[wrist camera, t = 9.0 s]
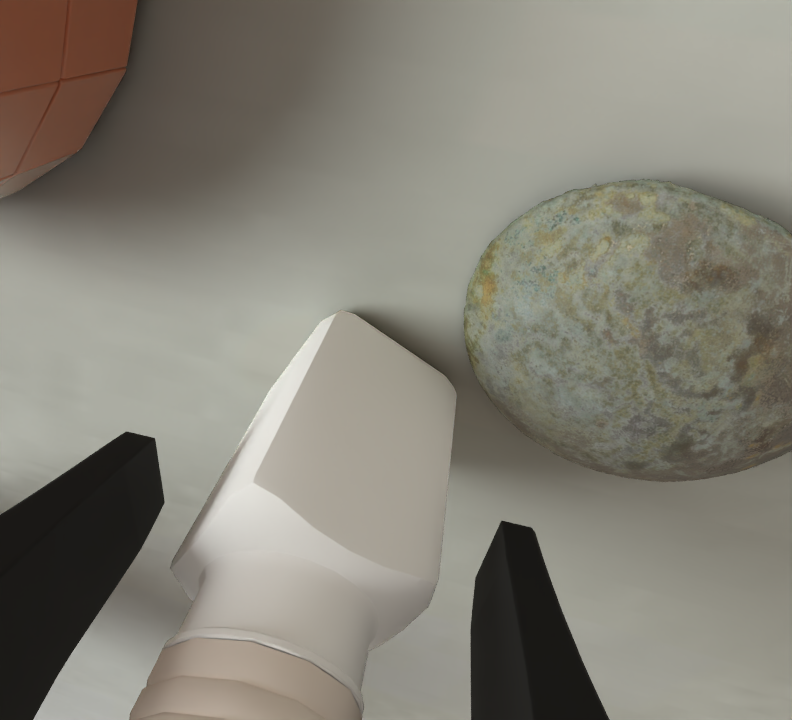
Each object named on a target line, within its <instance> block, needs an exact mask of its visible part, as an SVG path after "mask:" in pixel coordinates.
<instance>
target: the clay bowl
mask: <svg viewBox="0 0 792 720" xmlns="http://www.w3.org/2000/svg"><path fill="white" fill-rule="evenodd" d="M137 3H138V0H0V199H1V198H3V197H5V196H8V195H10V194H13V193H15V192H18V191H19V190H21V189H22V188H24V187H25V186H27V185H28V184H30V183H31V182H33V181H34V180H36V179H37V178H39V177H40V176H42V175H44V174H45V173H47V172H48V171H50V170H51V169H53V168H54V167H56V166H57V165H59V164H60V163H62V162H63V161H65V160H66V159H68V158H69V157H71V156H72V155H74V154H75V153H77V151H78V150H80V149H82V147H83V145H84V144H85V142H86V140H87V138H88V137H89V135H90V133H91V131H92V130H93V128H94V126H95V124H96V123H97V121H98V119H99V117H100V116H101V114H102V112H103V110H104V109H105V107H106V105H107V104H108V102H109V100H110V98H111V97H112V95H113V93H114V91H115V90H116V88H117V86H118V84H119V83H120V81H121V79H122V77H123V76H124V74H125V72H126V70H127V69H126V66H127V64H128V58H129V52H130V46H131V40H132V34H133V27H134V21H135V15H136V9H137Z"/></svg>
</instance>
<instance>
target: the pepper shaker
mask: <svg viewBox="0 0 792 720" xmlns="http://www.w3.org/2000/svg"><path fill="white" fill-rule="evenodd" d="M456 400H457V393H456V391H455V389H454V386H453V385H452V384H451V383H450V381H449V380H448V379H447V377H446V376H445V375H443V374H442V373H441V372H439V371H438V370H436V369H435V368H433V367H432V366H430V365H429V364H427V363H426V362H424V361H423V360H421V359H420V358H419V357H417V356H416V355H414V354H413V353H411V352H410V351H408V350H407V349H405V348H404V347H402V346H401V345H399V344H398V343H397V342H395V341H394V340H392V339H391V338H389V337H388V336H386V335H385V334H383V333H382V332H380V331H379V330H377V329H376V328H374V327H373V326H372V325H370V324H369V323H367V322H366V321H364V320H363V319H361V318H360V317H358V316H357V315H355V314H353V313H349V312H346V311H343V310H340V311H339V312H337V313H335V314H333V315H332V316H330V317H328V318H326V319H324V320H322V321H321V322H320V323H319V324H318V326H317V327H316V329H315V330H314V331H313V333H312V334H311V335H310V337H309V338H308V339H307V341H306V342H305V343H304V345H303V346H302V347H301V349H300V350H299V351H298V353H297V354H296V355H295V357H294V358H293V359H292V361H291V362H290V364H289V365H288V366H287V368H286V369H285V370H284V372H283V373H282V374H281V376H280V377H279V378H278V380H277V381H276V382H275V384H274V385H273V386H272V388H271V389H270V391H269V393H268V394H267V396H266V398H265V400H264V401H263V403H262V405H261V407H260V408H259V410H258V412H257V414H256V415H255V417H254V419H253V421H252V422H251V424H250V426H249V428H248V429H247V431H246V433H245V435H244V436H243V438H242V440H241V442H240V443H239V445H238V447H237V449H236V450H235V452H234V454H233V456H232V457H231V459H230V461H229V463H228V464H227V466H226V468H225V470H224V471H223V473H222V475H221V477H220V478H219V480H218V482H217V484H216V485H215V487H214V489H213V491H212V492H211V494H210V496H209V498H208V499H207V501H206V503H205V505H204V506H203V508H202V510H201V512H200V513H199V515H198V517H197V519H196V520H195V522H194V524H193V526H192V527H191V529H190V531H189V533H188V534H187V536H186V538H185V540H184V541H183V543H182V545H181V547H180V548H179V550H178V552H177V554H176V555H175V557H174V559H173V561H172V564H171V570H172V572H173V574H174V575H175V577H176V578H177V580H178V582H179V583H180V585H181V586H182V588H183V589H184V591H185V592H186V594H187V595H188V597H189V598H190V599H191V600H192V601H194V602H193V604H192V606H191V608H190V610H189V612H188V614H187V616H186V618H185V620H184V622H183V624H182V626H181V628H180V630H179V632H178V634H177V635H176V636H174V637H173V638H171V639H169V640H168V641H167V642H166V644H165V646H164V648H163V649H162V651H161V653H160V655H159V658H158V660H157V662H156V664H155V666H154V668H153V670H152V672H151V674H150V676H149V678H148V680H147V686H146V687H145V688H144V689H142V691H141V693H140V695H139V697H138V699H137V701H136V703H135V705H134V707H133V709H132V711H131V713H130V719H129V720H362V714H363V710H364V704H363V698H362V694H361V692H360V691H361V686H362V681H363V676H364V671H365V666H366V660H367V655H368V651H370V650H372V649H374V648H376V647H378V646H380V645H382V644H383V643H385V642H386V641H388V640H389V639H391V638H392V637H393V636H395V635H396V634H398V633H399V632H401V631H402V630H403V629H405V628H406V627H407V626H408V625H409V624H410V623H411V622H412V621H413V620H414V619H415V618H417V617H418V616H419V615H420V614H421V613H422V612H423V611H424V610H425V609H426V608H427V607H428V606H429V604H430V601H431V599H432V596H433V593H434V591H435V588H436V585H437V582H438V580H439V571H440V561H441V551H442V541H443V530H444V520H445V510H446V500H447V490H448V480H449V470H450V460H451V450H452V440H453V430H454V420H455V410H456Z"/></svg>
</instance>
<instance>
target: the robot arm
mask: <svg viewBox="0 0 792 720" xmlns="http://www.w3.org/2000/svg"><path fill="white" fill-rule="evenodd" d="M164 503H165V502H164V495H163V489H162V482H161V475H160V469H159V462H158V455H157V449H156V442H155V438H152V437H147V436H143V435H139V434H135V433H130V432H125V433H123V434H122V435H120V436H119V437H117V438H116V439H114V440H113V441H111V442H109V443H108V444H107V445H105V446H104V447H102V448H101V449H99V450H98V451H96V452H95V453H93V454H92V455H90V456H89V457H87V458H86V459H85V460H83V461H82V462H80V463H79V464H77V465H76V466H74V467H73V468H71V469H70V470H68V471H67V472H65V473H64V474H62V475H61V476H59V477H58V478H56V479H55V480H53V481H52V482H50V483H49V484H47V485H46V486H44V487H43V488H41V489H40V490H38V491H37V492H35V493H33V494H32V495H30V496H29V497H27V498H26V499H24V500H23V501H21V502H20V503H18V504H17V505H15V506H13V507H12V508H10V509H9V510H7V511H6V512H4V513H2V514H1V515H0V720H33V719H34V717H35V715H36V713H37V712H38V710H39V708H40V706H41V704H42V703H43V701H44V699H45V697H46V695H47V693H48V692H49V690H50V688H51V686H52V684H53V683H54V681H55V679H56V677H57V676H58V674H59V672H60V671H61V669H62V668H63V666H64V664H65V663H66V661H67V660H68V658H69V656H70V655H71V653H72V652H73V650H74V649H75V647H76V646H77V644H78V643H79V641H80V640H81V638H82V637H83V635H84V634H85V632H86V631H87V629H88V628H89V626H90V625H91V623H92V622H93V620H94V619H95V617H96V616H97V614H98V613H99V611H100V610H101V608H102V607H103V605H104V604H105V602H106V601H107V599H108V598H109V596H110V595H111V593H112V592H113V590H114V589H115V588H116V586H117V585H118V583H119V582H120V580H121V578H122V577H123V575H124V574H125V572H126V571H127V569H128V568H129V566H130V565H131V563H132V562H133V560H134V559H135V557H136V556H137V554H138V553H139V551H140V550H141V548H142V546H143V544H144V542H145V540H146V538H147V536H148V535H149V533H150V531H151V529H152V527H153V525H154V523H155V521H156V519H157V517H158V515H159V513H160V511H161V509H162V507H163V505H164ZM471 720H609V718H608V716H607V714H606V712H605V709H604V707H603V705H602V703H601V701H600V699H599V697H598V694H597V692H596V690H595V688H594V686H593V684H592V681H591V679H590V677H589V675H588V672H587V670H586V668H585V666H584V663H583V661H582V659H581V656H580V654H579V652H578V649H577V647H576V644H575V642H574V639H573V637H572V634H571V632H570V630H569V627H568V625H567V622H566V620H565V617H564V615H563V612H562V609H561V607H560V604H559V602H558V599H557V596H556V593H555V591H554V588H553V585H552V582H551V580H550V577H549V574H548V571H547V568H546V565H545V562H544V559H543V556H542V553H541V550H540V547H539V544H538V540H537V537H536V534H535V532H534V530H533V529H532V528H531V527H526V526H522V525H518V524H514V523H509V522H505V521H501V523H500V525H499V527H498V530H497V532H496V534H495V536H494V538H493V541H492V543H491V545H490V547H489V549H488V552H487V554H486V556H485V558H484V560H483V563H482V565H481V567H480V569H479V571H478V574H477V576H476V579H475V589H474V599H473V609H472V620H471Z"/></svg>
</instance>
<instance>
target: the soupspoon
mask: <svg viewBox="0 0 792 720" xmlns="http://www.w3.org/2000/svg"><path fill="white" fill-rule="evenodd" d="M464 335H465V343H466V348H467V352H468V356H469V360H470V362H471V365H472V368H473V370H474V373H475V375H476V377H477V379H478V381H479V383H480V385H481V386H482V388H483V389H484V391H485V393H486V394H487V396H488V397H489V398H490V400H491V401H492V402H493V403H494V405H495V406H496V407H497V408H498V410H499V411H500V412H501V413H502V414H503V415H504V416H505V417H506V418H507V419H508V420H509V421H510V422H512V423H513V424H514V425H515V426H516V427H517V428H518V429H519V430H520V431H521V432H523V433H524V434H525V435H526V436H528V437H530V438H531V439H533V440H534V441H535V442H537V443H539V444H540V445H542V446H543V447H545V448H547V449H548V450H550V451H552V452H553V453H554V454H556V455H558V456H561V457H563V458H565V459H567V460H570V461H572V462H575V463H577V464H580V465H582V466H584V467H587V468H590V469H594V470H596V471H600V472H604V473H607V474H612V475H616V476H621V477H626V478H633V479H640V480H648V481H660V482H669V481H671V482H675V481H687V480H699V479H707V478H712V477H717V476H722V475H727V474H732V473H737V472H740V471H743V470H746V469H749V468H752V467H755V466H758V465H760V464H763V463H765V462H767V461H770V460H772V459H775V458H777V457H780V456H782V455H784V454H785V453H787V452H789V451H792V235H791V234H790V233H789V232H788V231H787V230H785V229H784V228H783V227H782V226H780V225H778V224H777V223H775V222H774V221H769V219H768V218H767V219H765V218H764V217H762V216H761V215H759V216H757V215H755V214H753V213H751V212H750V211H748V210H746V209H743V208H741V207H738V206H735V205H733V204H730V203H727V202H725V201H722V200H719V199H716V198H714V197H711V196H707V195H704V194H702V193H699V192H696V191H694V190H691V189H690V188H685V187H680V186H678V185H675V184H671V182H669V181H668V182H660V181H659V180H656V181H652V180H650V179H647V180H645V179H642V180H639V181H636V180H629V181H622V182H621V181H619V182H612V183H607V184H604V185H600V186H597V185H596V184H594V185H593V186H592V187H591V188H586V189H579V190H577V189H574V190H571V191H568V192H565V193H564V194H563V195H561V196H557V197H555V198H552V199H549V200H548V201H543V202H541V203H540V204H538V205H537V206H535V207H534V208H532V209H530V210H529V211H528V212H527V213H526V214H524V215H522V216H520V217H519V218H518V219H516V220H515V221H514V222H512V223H511V224H510V225H509V226H508V227H507V228H506V229H505V230H504V231H503V232H502V233H501V234H500V235H499V236H498V237H497V238H495V239H494V240H493V241H492V242H491V243H490V244H489V246H488V248H487V249H486V250H485V252H484V254H483V255H482V256H481V258H480V261H479V264H478V266H477V268H476V270H475V273H474V275H473V277H472V278H471V280H470V283H469V285H468V290H467V296H466V306H465V308H464Z"/></svg>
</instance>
